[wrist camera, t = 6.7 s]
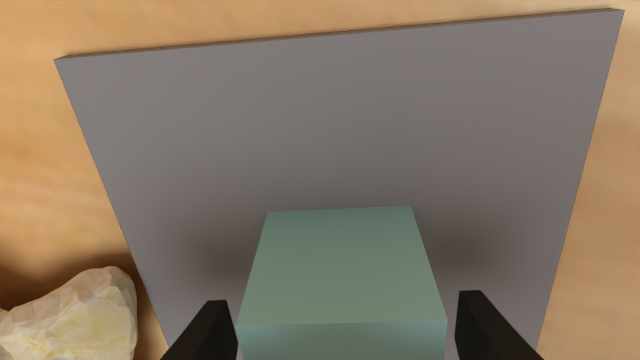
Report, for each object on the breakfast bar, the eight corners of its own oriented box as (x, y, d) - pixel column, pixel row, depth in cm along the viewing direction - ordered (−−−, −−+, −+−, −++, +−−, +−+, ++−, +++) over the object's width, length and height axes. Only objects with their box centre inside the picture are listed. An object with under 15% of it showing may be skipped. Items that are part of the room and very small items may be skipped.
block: (410, 205, 13) (447, 319, 9) (406, 309, 16) (434, 441, 11) (267, 212, 14) (235, 326, 9) (285, 313, 16) (266, 442, 12)
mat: (610, 8, 11) (624, 9, 10) (520, 375, 18) (525, 387, 18) (65, 55, 12) (53, 59, 11) (191, 383, 19) (187, 394, 19)
